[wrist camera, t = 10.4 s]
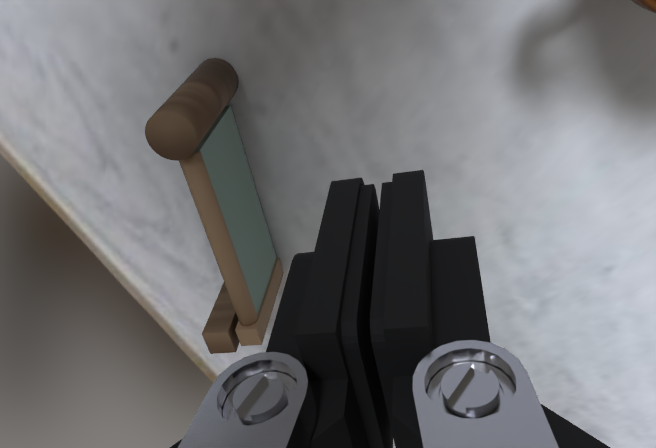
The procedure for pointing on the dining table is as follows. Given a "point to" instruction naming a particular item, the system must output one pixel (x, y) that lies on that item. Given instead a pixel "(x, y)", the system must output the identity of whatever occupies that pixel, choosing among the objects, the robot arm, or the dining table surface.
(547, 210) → the dining table surface
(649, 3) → the mug
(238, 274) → the gate
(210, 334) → the gate posts
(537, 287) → the dining table surface
